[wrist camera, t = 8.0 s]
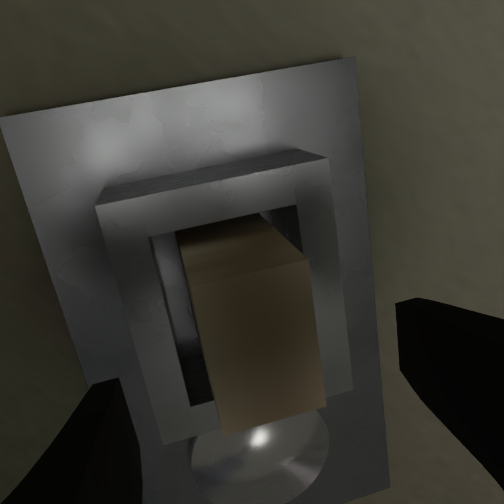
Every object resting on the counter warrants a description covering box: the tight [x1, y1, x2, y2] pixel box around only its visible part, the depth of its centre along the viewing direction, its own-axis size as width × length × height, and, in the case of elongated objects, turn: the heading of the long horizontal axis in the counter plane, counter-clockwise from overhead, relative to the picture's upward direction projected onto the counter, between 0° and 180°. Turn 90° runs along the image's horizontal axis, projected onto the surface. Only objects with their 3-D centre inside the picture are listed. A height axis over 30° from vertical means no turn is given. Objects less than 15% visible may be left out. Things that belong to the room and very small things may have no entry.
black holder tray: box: [0, 57, 390, 504], centre depth 18 cm, size 12×20×4 cm, turn 9°
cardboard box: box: [175, 213, 326, 436], centre depth 15 cm, size 3×4×6 cm, turn 9°
